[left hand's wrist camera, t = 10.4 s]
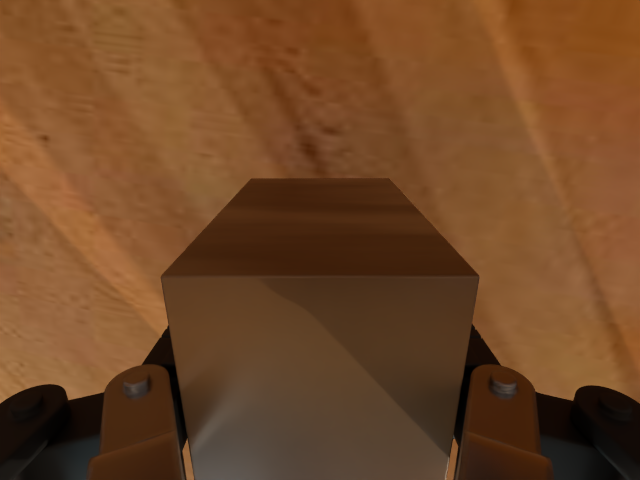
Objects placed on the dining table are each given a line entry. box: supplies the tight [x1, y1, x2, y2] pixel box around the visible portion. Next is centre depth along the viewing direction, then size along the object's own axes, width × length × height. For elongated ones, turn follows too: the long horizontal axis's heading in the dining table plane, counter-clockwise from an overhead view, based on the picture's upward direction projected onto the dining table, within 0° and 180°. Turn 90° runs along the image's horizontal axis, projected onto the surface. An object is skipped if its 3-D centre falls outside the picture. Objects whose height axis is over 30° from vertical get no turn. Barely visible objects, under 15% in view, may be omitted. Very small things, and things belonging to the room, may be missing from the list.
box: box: [161, 178, 479, 480], centre depth 15 cm, size 22×6×10 cm, turn 0°
